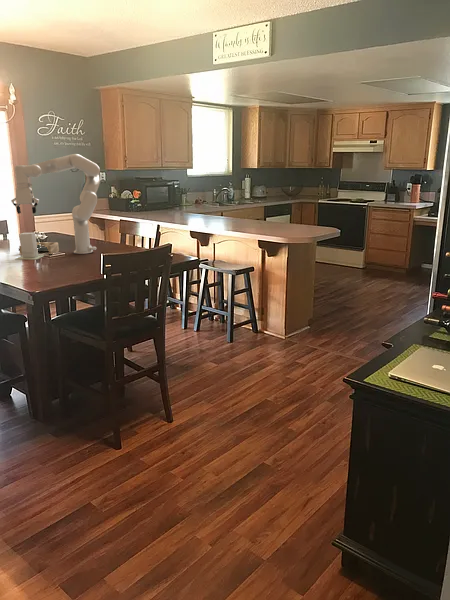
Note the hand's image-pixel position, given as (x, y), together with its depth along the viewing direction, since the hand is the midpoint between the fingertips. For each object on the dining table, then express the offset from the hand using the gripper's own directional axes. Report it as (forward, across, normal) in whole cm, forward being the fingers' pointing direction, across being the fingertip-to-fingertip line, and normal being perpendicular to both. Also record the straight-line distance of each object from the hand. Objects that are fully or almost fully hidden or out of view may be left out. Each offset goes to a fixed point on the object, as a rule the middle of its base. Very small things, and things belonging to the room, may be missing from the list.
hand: (26, 213), depth 315 cm
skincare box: (+28, +1, +1) cm, 28 cm away
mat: (+28, +1, +1) cm, 28 cm away
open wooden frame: (+28, +1, -14) cm, 31 cm away
